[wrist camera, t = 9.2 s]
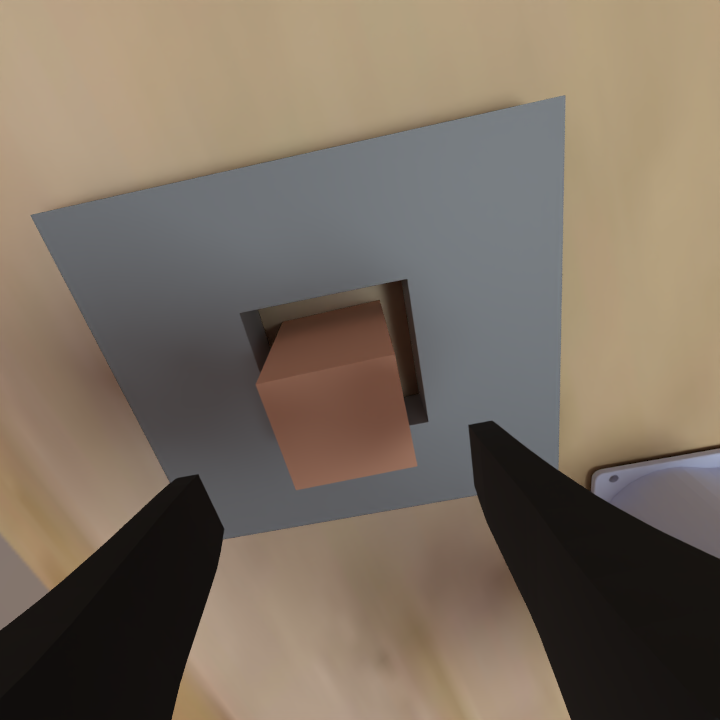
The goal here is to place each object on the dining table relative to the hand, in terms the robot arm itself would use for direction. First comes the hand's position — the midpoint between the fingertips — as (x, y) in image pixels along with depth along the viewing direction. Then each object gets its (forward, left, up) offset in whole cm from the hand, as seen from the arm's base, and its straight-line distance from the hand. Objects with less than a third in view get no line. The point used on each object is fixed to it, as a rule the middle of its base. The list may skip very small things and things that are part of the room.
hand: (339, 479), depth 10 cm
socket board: (0, 0, -9) cm, 9 cm away
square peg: (0, 0, -9) cm, 9 cm away
